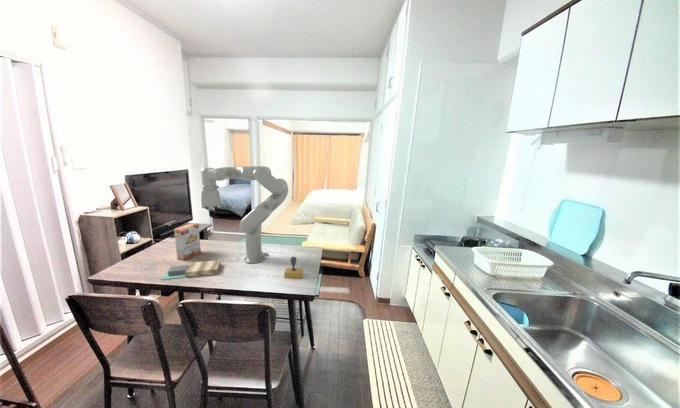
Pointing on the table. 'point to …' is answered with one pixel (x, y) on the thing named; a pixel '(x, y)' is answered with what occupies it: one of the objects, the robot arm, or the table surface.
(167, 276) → the mat
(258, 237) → the robot arm
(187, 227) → the cracker box
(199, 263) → the deck
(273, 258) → the table surface
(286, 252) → the table surface
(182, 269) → the blue-grey flat block
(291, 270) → the rubber stamp
